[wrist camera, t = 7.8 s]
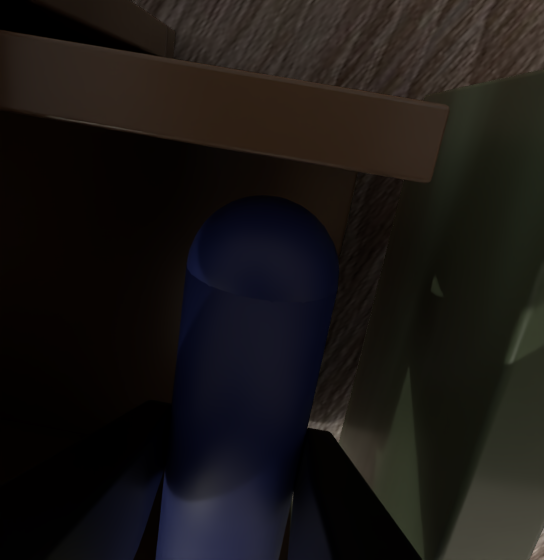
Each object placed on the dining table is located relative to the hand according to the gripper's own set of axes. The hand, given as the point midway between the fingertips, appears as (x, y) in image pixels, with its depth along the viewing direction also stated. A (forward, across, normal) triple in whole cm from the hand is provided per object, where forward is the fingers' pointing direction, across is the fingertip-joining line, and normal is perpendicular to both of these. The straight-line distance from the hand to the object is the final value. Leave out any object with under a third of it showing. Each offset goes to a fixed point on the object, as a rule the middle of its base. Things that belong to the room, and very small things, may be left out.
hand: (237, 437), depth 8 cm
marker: (+1, 0, 0) cm, 1 cm away
